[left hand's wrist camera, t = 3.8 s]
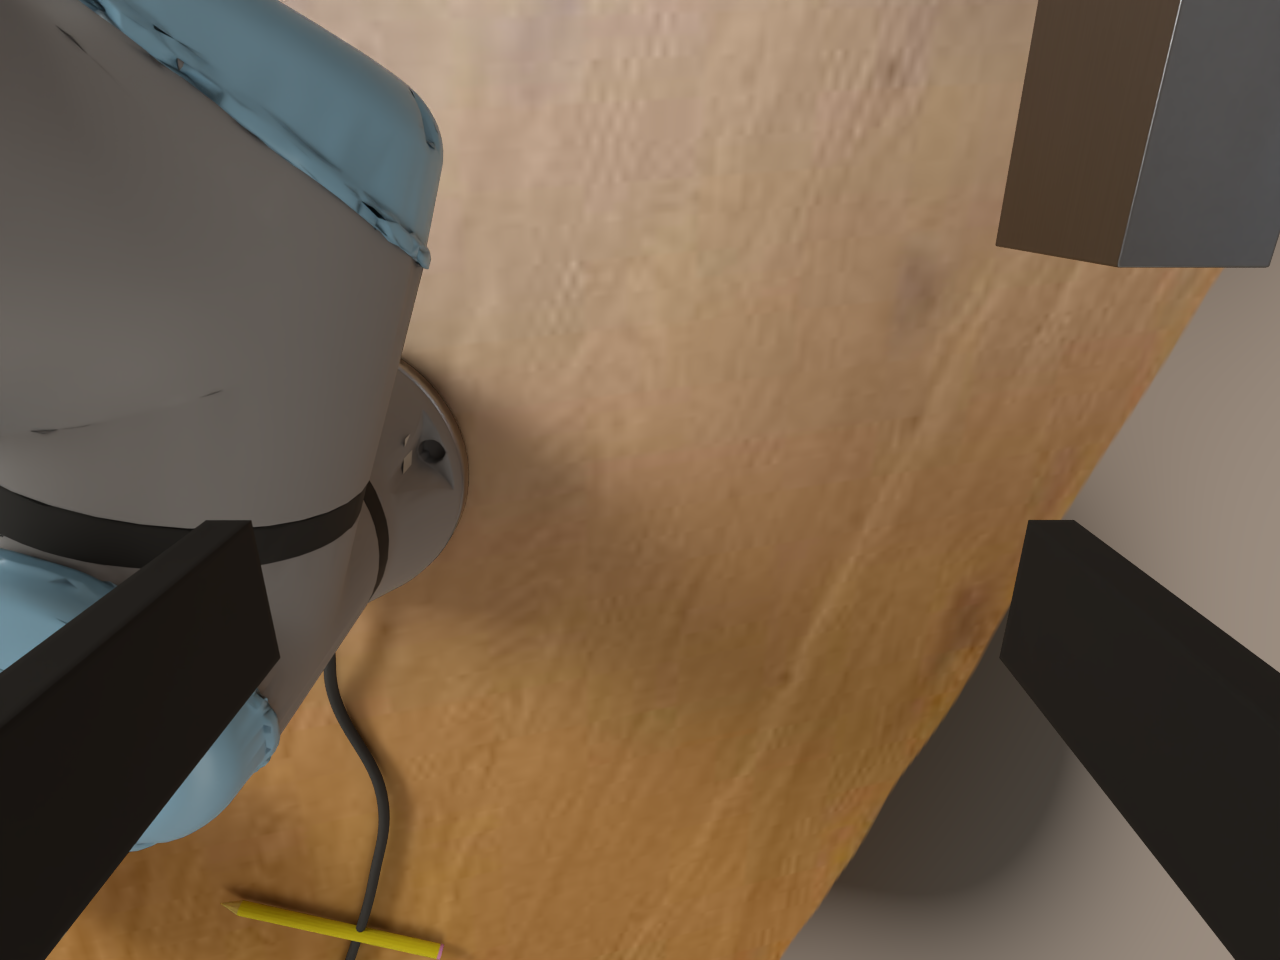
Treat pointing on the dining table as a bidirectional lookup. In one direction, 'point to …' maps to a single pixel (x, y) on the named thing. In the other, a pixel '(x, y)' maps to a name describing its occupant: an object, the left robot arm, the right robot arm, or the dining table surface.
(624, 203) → the dining table surface
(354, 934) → the pencil
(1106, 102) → the bar
